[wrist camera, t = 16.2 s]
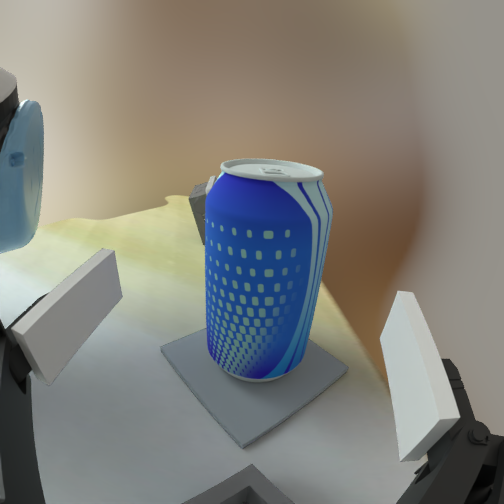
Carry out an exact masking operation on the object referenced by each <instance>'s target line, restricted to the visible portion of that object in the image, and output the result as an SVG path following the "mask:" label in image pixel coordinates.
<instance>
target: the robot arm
mask: <svg viewBox="0 0 504 504" xmlns="http://www.w3.org/2000/svg"><path fill="white" fill-rule="evenodd" d="M43 155H44V128H43V115H42V112H41V107H40V105H39V103H38V102H36V101H29V100H24V101H23V102H21V103H19V100H18V93H17V82H16V77H15V76H14V75H13V74H11V73H9V72H8V71H6V70H4V69H3V68H1V67H0V253H4V252H7V251H11V250H15V249H18V248H21V247H23V246H25V245H27V244H28V243H29V242H30V241H31V239H32V238H33V236H34V235H35V232H36V230H37V226H38V221H39V216H40V208H41V197H42V183H43ZM122 297H123V296H122V291H121V286H120V281H119V275H118V269H117V263H116V257H115V251H114V250H110V249H104V248H102V249H101V250H100V251H98V252H97V253H96V254H95V255H93V256H92V257H91V258H90V259H88V260H87V261H86V262H85V263H83V264H82V265H81V266H80V267H79V268H77V269H76V270H75V271H74V272H73V273H71V274H70V275H69V276H68V277H67V278H66V279H64V280H63V281H62V282H61V283H60V284H59V285H57V286H56V287H55V288H54V289H53V290H52V291H51V292H50V293H47V294H45V295H43V296H42V297H40V298H38V299H37V300H36V301H35V302H34V303H33V304H32V306H30V307H29V308H27V309H26V311H24V312H23V313H22V314H21V315H20V316H19V317H18V318H17V319H16V320H15V321H14V322H13V323H12V324H11V325H9V326H8V327H7V328H6V329H5V328H4V326H3V324H2V322H1V320H0V504H46V503H45V499H44V495H43V490H42V485H41V480H40V475H39V469H38V463H37V457H36V450H35V441H34V432H33V420H32V403H31V378H30V376H29V372H30V371H31V370H33V372H34V374H35V376H36V377H37V379H38V380H40V381H42V382H43V383H45V384H47V385H49V386H50V385H51V384H52V382H53V381H54V380H55V378H56V377H57V376H58V375H59V373H60V372H61V371H62V369H63V368H64V367H65V366H66V364H67V363H68V362H69V360H70V359H71V358H72V357H73V355H74V354H75V353H76V352H77V351H78V349H79V348H80V347H81V346H82V344H83V343H84V342H85V341H86V340H87V338H88V337H89V336H90V335H91V333H92V332H93V331H94V330H95V329H96V327H97V326H98V325H99V324H100V323H101V322H102V320H103V319H104V318H105V317H106V316H107V315H108V313H109V312H110V311H111V310H112V309H113V308H114V306H115V305H116V304H117V303H118V302H119V301H120V300H121V298H122ZM380 341H381V346H382V351H383V356H384V360H385V365H386V370H387V376H388V381H389V387H390V392H391V398H392V404H393V411H394V417H395V424H396V432H397V440H398V448H399V457H400V462H403V461H415V460H419V459H420V458H422V457H423V456H424V455H425V454H426V453H427V455H428V461H427V462H426V463H425V464H424V465H423V466H421V467H420V468H419V469H418V470H417V471H416V472H415V473H414V474H418V475H417V476H416V477H415V479H414V480H413V482H412V483H411V484H410V486H409V487H408V489H407V490H406V491H405V493H404V494H403V495H402V496H401V498H400V499H399V500H398V502H397V503H396V504H504V436H498V435H493V434H491V433H490V431H489V429H488V428H487V426H485V425H484V424H483V423H482V422H479V421H476V420H475V418H474V414H473V411H472V408H471V405H470V402H469V399H468V396H467V393H466V391H465V389H464V385H463V383H462V381H461V377H460V374H459V372H458V369H457V368H456V366H455V365H454V364H453V363H452V361H451V360H450V359H441V358H440V355H439V353H438V350H437V347H436V345H435V342H434V340H433V337H432V335H431V332H430V330H429V328H428V325H427V323H426V321H425V318H424V316H423V314H422V311H421V309H420V307H419V305H418V302H417V300H416V298H415V296H414V294H413V293H412V292H404V291H398V292H397V295H396V297H395V300H394V303H393V306H392V309H391V311H390V314H389V316H388V319H387V322H386V324H385V327H384V330H383V332H382V334H381V337H380Z"/></svg>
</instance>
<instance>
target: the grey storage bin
mask: <svg viewBox="0 0 504 504" xmlns="http://www.w3.org/2000/svg"><path fill="white" fill-rule="evenodd" d="M244 502H247V503H248V504H294V503H293V502H292V501H291V500H290V499H289V498H288V497H286V496H285V495H284V494H283V493H282V492H281V491H280V490H279V489H278V488H277V487H275V486H274V485H273V484H272V483H271V482H270V481H269V480H268V479H267V478H266V477H265V476H264V475H263V474H262V473H261V472H260V471H259V470H258V469H257V468H256V467H255V466H254V465H253V464H251V465H249V466H248V467H246V468H244V469H243V470H241V471H240V472H238V473H236V474H235V475H233V476H231V477H230V478H228V479H226V480H225V481H223V482H221V483H220V484H218V485H216V486H214V487H213V488H211V489H209V490H207V491H205V492H203V493H202V494H200V495H198V496H196V497H194V498H192V499H190V500H188V501H186V502H184V503H182V504H243V503H244Z"/></svg>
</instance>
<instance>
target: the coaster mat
mask: <svg viewBox="0 0 504 504" xmlns="http://www.w3.org/2000/svg"><path fill="white" fill-rule="evenodd" d="M160 348H161V352H162V353H163V355H164V356H165V357H166V359H167V360H168V361H169V363H170V364H171V365H172V367H173V368H174V369H175V371H176V372H177V373H178V375H179V376H180V377H181V378H182V380H183V381H184V382H185V384H186V385H187V386H188V387H189V389H190V390H191V391H192V392H193V394H194V395H195V396H196V397H197V398H198V400H199V401H200V402H201V403H202V405H203V406H204V407H205V408H206V409H207V410H208V412H209V413H210V414H211V415H212V416H213V417H214V419H215V420H216V421H217V422H218V423H219V424H220V425H221V427H222V428H223V429H224V430H225V431H226V432H227V433H228V434H229V435H230V436H231V438H232V439H233V440H234V441H235V442H236V443H237V444H238V445H239V446H240V447H241V448H242V449H243V448H244V447H246V446H247V445H249V444H251V443H252V442H254V441H255V440H257V439H258V438H260V437H261V436H263V435H264V434H266V433H267V432H269V431H270V430H272V429H273V428H275V427H276V426H278V425H279V424H280V423H282V422H283V421H285V420H286V419H287V418H289V417H290V416H292V415H293V414H294V413H296V412H297V411H298V410H300V409H301V408H302V407H304V406H305V405H306V404H308V403H309V402H310V401H312V400H313V399H314V398H315V397H317V396H318V395H319V394H320V393H322V392H323V391H324V390H325V389H327V388H328V387H329V386H330V385H332V384H333V383H334V382H335V381H336V380H338V379H339V378H340V377H341V376H342V375H343V374H345V373H346V372H347V370H348V368H349V367H348V366H346V365H345V364H343V363H342V362H341V361H339V360H338V359H336V358H335V357H334V356H332V355H331V354H329V353H328V352H326V351H325V350H324V349H322V348H321V347H319V346H318V345H317V344H315V343H314V342H312V341H311V340H310V339H308V342H307V346H306V350H305V354H304V357H303V359H302V361H301V362H300V364H299V365H298V366H297V367H296V368H295V369H293V370H292V371H290V372H289V373H287V374H285V375H283V376H281V377H280V378H277V379H275V380H272V381H268V382H248V381H243V380H240V379H238V378H235V377H233V376H231V375H230V374H228V373H227V372H226V371H225V370H224V369H222V368H221V367H220V366H219V365H217V364H216V363H215V361H214V360H213V359H212V357H211V356H210V354H209V351H208V347H207V328H205V329H202V330H200V331H198V332H195V333H193V334H190V335H188V336H186V337H183V338H181V339H178V340H176V341H173V342H171V343H168V344H166V345H163V346H161V347H160Z"/></svg>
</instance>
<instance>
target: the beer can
mask: <svg viewBox="0 0 504 504" xmlns="http://www.w3.org/2000/svg"><path fill="white" fill-rule="evenodd" d="M221 170H222V173H221V174H220V176H219V178H218V179H217V180H216V182H215V183H214V185H213V187H212V188H211V190H210V191H209V193H208V194H207V197H206V201H205V283H206V324H207V347H208V351H209V354H210V356H211V357H212V359H213V360H214V361H215V363H216V364H217V365H219V366H220V367H221V368H222V369H224V370H225V371H226V372H227V373H228V374H230V375H231V376H233V377H235V378H238V379H240V380H243V381H248V382H268V381H272V380H275V379H277V378H280V377H281V376H283V375H285V374H287V373H289V372H290V371H292V370H293V369H295V368H296V367H297V366H298V365H299V364H300V362H301V361H302V359H303V357H304V354H305V350H306V346H307V342H308V338H309V333H310V329H311V325H312V320H313V316H314V311H315V306H316V302H317V297H318V292H319V287H320V282H321V277H322V272H323V267H324V262H325V256H326V251H327V245H328V239H329V234H330V228H331V221H332V215H333V208H332V204H331V202H330V199H329V197H328V195H327V192H326V190H325V188H324V185H323V183H322V179H323V176H324V173H323V172H322V171H321V170H319V169H317V168H315V167H312V166H308V165H304V164H300V163H294V162H289V161H281V160H271V159H236V160H229V161H226V162H223V163H222V164H221Z"/></svg>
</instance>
